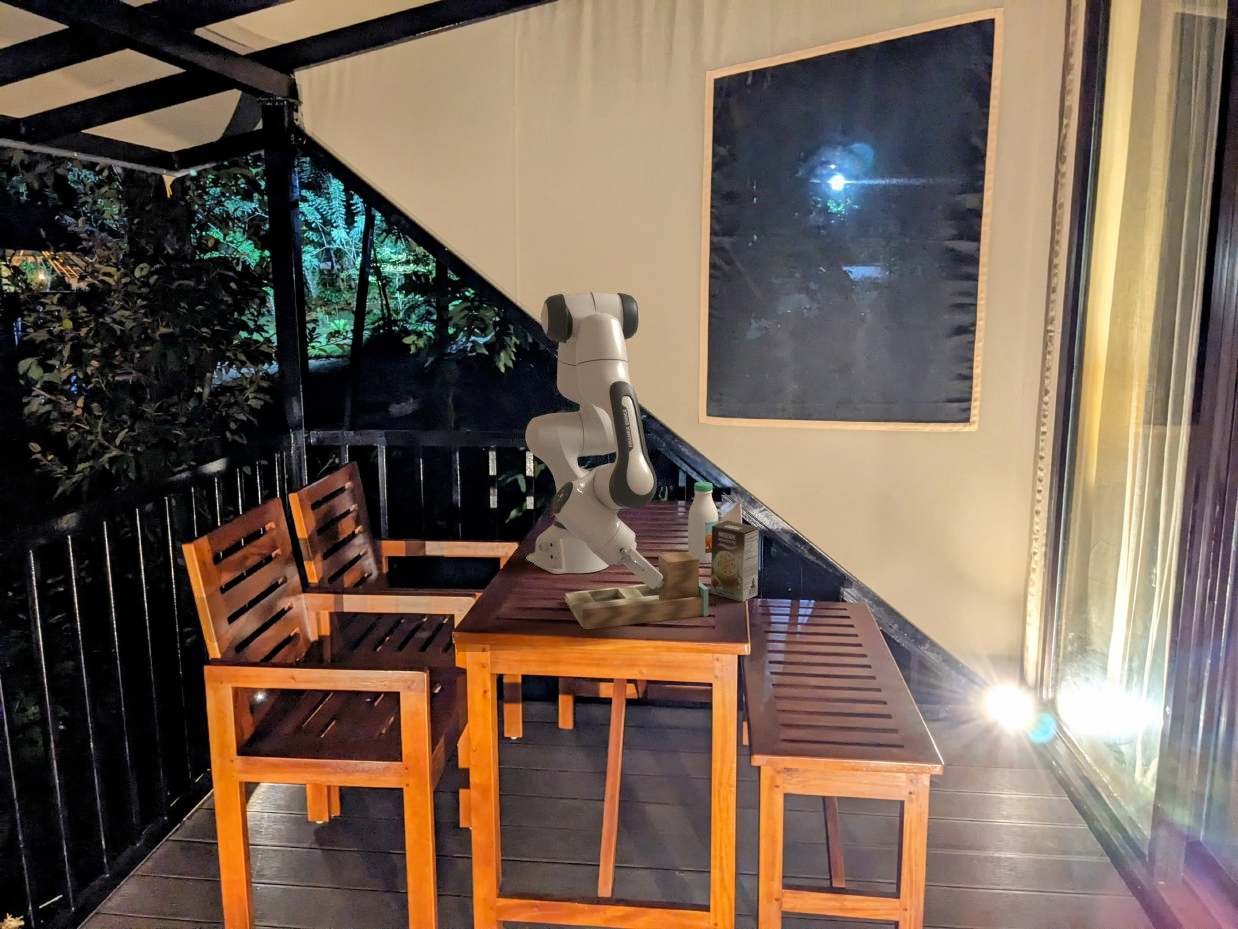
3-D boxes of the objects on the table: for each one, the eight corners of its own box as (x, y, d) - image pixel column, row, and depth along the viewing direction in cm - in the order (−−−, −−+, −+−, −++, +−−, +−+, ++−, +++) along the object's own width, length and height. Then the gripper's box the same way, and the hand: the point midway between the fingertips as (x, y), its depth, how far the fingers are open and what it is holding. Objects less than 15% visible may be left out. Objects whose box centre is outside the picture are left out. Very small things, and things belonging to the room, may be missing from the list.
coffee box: (709, 593, 206) (709, 525, 203) (725, 586, 210) (726, 519, 207) (743, 602, 200) (743, 532, 197) (759, 595, 204) (760, 526, 201)
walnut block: (667, 607, 191) (667, 562, 190) (658, 598, 197) (658, 554, 195) (698, 604, 193) (698, 559, 191) (689, 595, 199) (689, 551, 197)
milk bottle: (694, 565, 227) (694, 487, 223) (683, 557, 234) (683, 481, 230) (723, 562, 229) (723, 485, 225) (711, 554, 236) (711, 479, 232)
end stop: (703, 616, 192) (703, 589, 190) (675, 590, 209) (675, 565, 208) (708, 615, 192) (708, 588, 191) (679, 589, 209) (679, 564, 208)
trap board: (583, 629, 185) (583, 611, 184) (565, 601, 202) (564, 584, 202) (703, 615, 192) (703, 597, 191) (675, 589, 209) (675, 572, 208)
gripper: (639, 545, 179) (686, 587, 184) (612, 520, 199) (655, 559, 203) (618, 569, 179) (665, 610, 184) (593, 542, 198) (636, 580, 203)
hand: (659, 583), depth 194 cm, fingers closed, pressing on walnut block
